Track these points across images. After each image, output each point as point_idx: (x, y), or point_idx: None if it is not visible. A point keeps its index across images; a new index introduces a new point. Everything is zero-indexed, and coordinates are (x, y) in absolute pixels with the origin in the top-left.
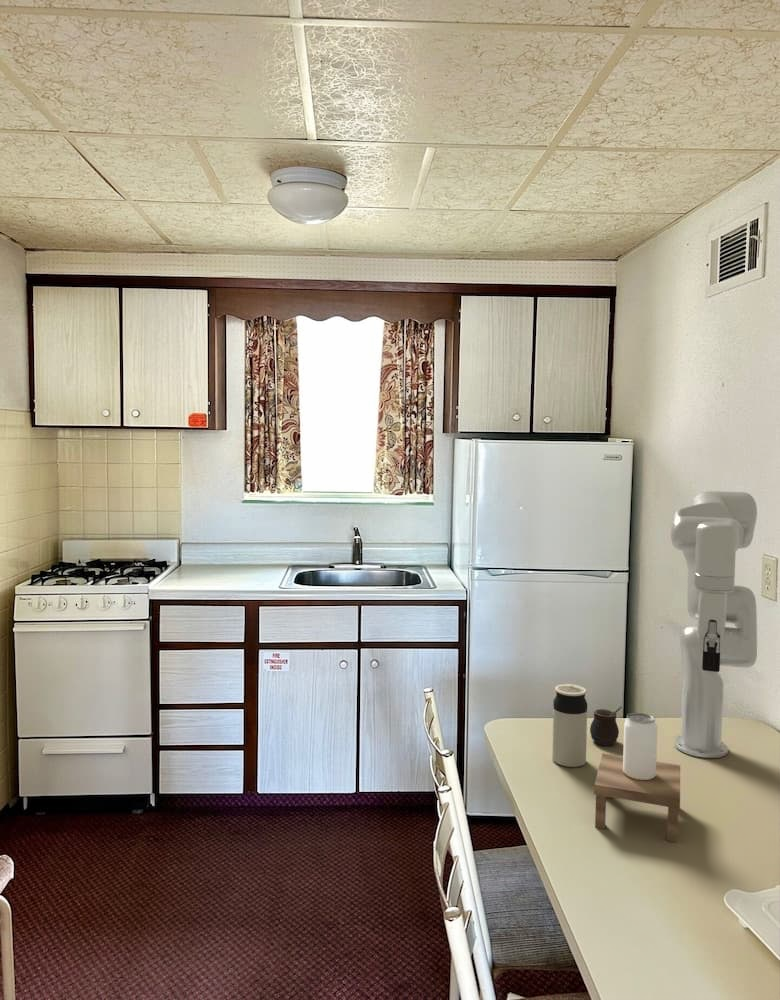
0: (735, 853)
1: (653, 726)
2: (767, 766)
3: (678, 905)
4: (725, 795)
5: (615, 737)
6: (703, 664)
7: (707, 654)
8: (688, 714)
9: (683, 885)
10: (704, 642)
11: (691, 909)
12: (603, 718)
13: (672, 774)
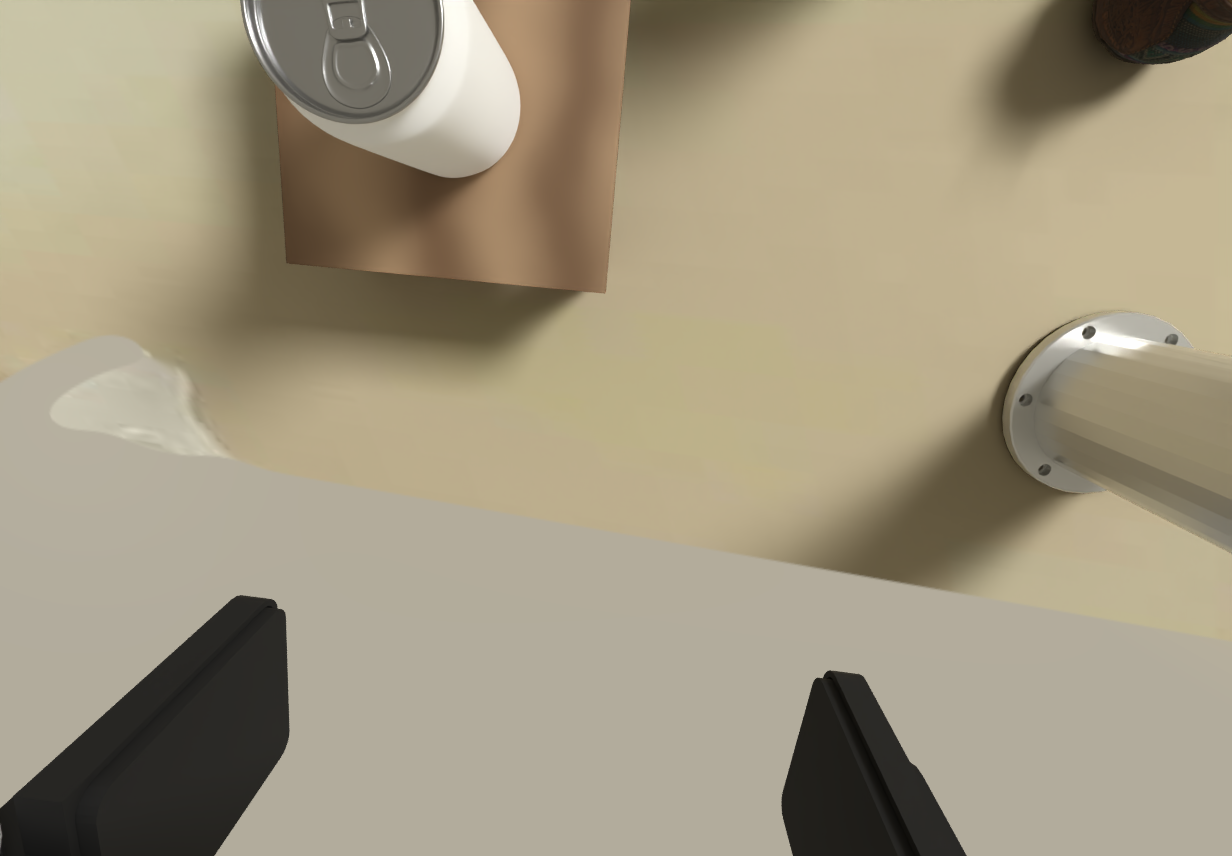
0: (370, 408)
1: (308, 113)
2: (961, 583)
3: (34, 227)
4: (722, 432)
5: (1118, 47)
6: (197, 642)
7: (3, 815)
8: (1185, 385)
9: (138, 250)
10: (885, 842)
11: (34, 260)
12: None
13: (500, 252)
